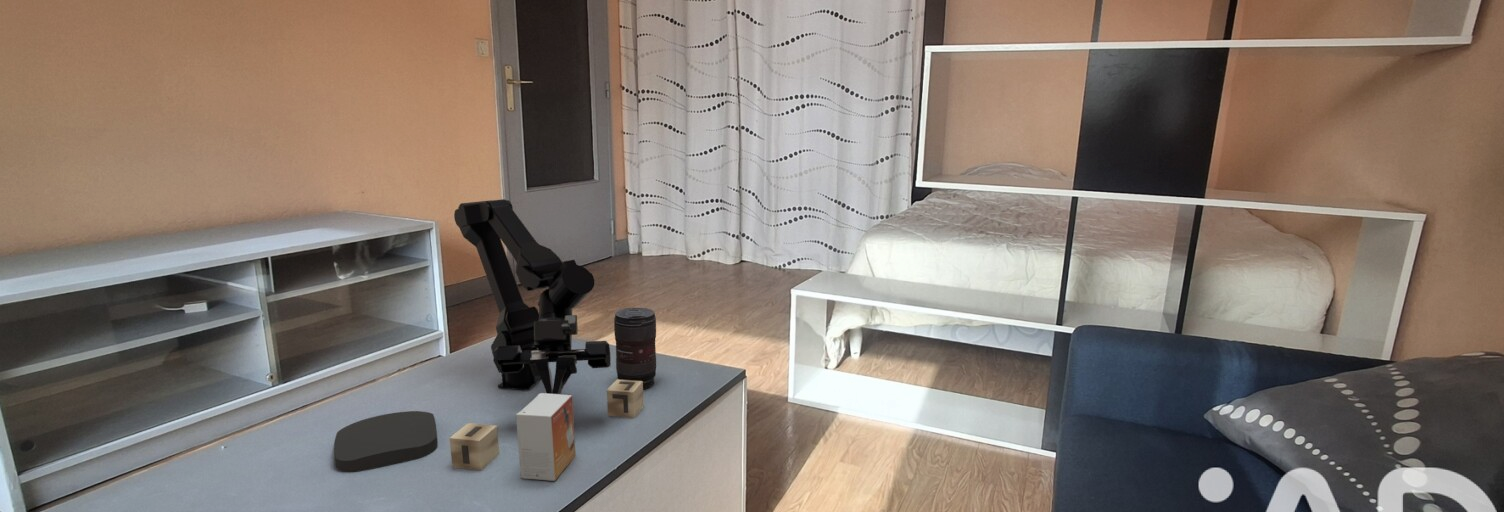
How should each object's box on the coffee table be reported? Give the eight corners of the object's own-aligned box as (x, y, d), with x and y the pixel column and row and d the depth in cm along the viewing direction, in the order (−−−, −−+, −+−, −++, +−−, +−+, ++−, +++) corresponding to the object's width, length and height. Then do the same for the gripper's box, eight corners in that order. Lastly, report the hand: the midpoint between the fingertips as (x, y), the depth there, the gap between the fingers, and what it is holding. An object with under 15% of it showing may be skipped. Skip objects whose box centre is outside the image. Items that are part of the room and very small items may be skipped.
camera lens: (662, 388, 134) (660, 315, 131) (621, 394, 131) (618, 320, 128) (652, 373, 141) (649, 304, 138) (613, 379, 138) (609, 308, 135)
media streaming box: (333, 479, 102) (330, 461, 102) (339, 437, 115) (337, 421, 114) (440, 456, 109) (438, 439, 108) (434, 419, 121) (432, 404, 121)
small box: (555, 482, 101) (550, 417, 99) (519, 479, 102) (514, 414, 99) (576, 455, 109) (573, 394, 106) (543, 452, 109) (539, 391, 107)
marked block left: (451, 468, 105) (448, 437, 104) (470, 451, 110) (468, 422, 109) (481, 471, 104) (478, 440, 103) (499, 454, 109) (496, 425, 108)
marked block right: (607, 416, 122) (606, 389, 121) (618, 404, 127) (616, 378, 126) (634, 418, 121) (633, 391, 120) (643, 406, 126) (642, 380, 125)
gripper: (490, 300, 112) (482, 390, 103) (607, 295, 115) (607, 383, 107) (503, 330, 121) (496, 415, 113) (610, 325, 124) (611, 407, 116)
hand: (552, 404), depth 112 cm, fingers closed
